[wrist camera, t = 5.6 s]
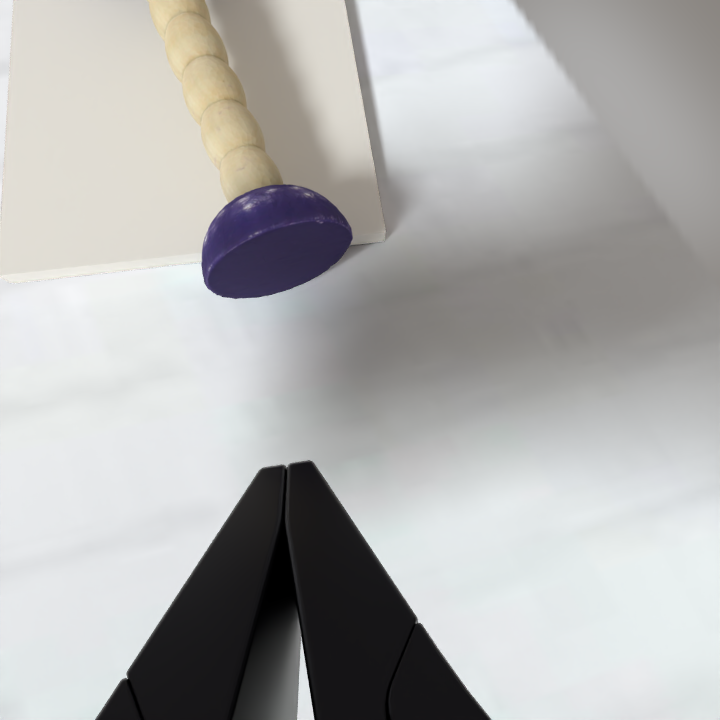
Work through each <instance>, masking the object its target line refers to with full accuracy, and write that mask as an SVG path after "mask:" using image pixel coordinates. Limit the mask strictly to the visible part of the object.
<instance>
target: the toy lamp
mask: <svg viewBox="0 0 720 720" xmlns="http://www.w3.org/2000/svg"><path fill="white" fill-rule="evenodd" d="M147 1H148V2H149V9H150V13H151V17H152V20H153V23H154V25H155V27H156V29H157V31H158V33H159V35H160V36H161V38H162V39H163V41H164V42H165V51H166V55H167V59H168V62H169V64H170V66H171V69H172V71H173V72H174V74H175V75H176V77H177V79H178V80H179V81H180V82H181V83H182V89H183V96H184V100H185V103H186V106H187V108H188V110H189V112H190V114H191V115H192V117H193V118H194V120H195V121H196V122H197V123H198V124H199V125H200V126H201V136H202V141H203V145H204V148H205V150H206V152H207V154H208V156H209V158H210V159H211V161H212V162H213V164H214V165H215V166H216V167H217V168H218V170H220V182H221V187H222V190H223V193H224V195H225V197H226V199H227V202H228V204H227V205H225V206H224V208H223V209H222V210H221V211H220V212H219V213H218V214H217V216H216V217H215V218H214V219H213V221H212V222H211V224H210V226H209V228H208V231H207V233H206V236H205V238H204V242H203V248H202V272H203V277H204V282H205V284H206V286H207V288H208V289H209V290H211V291H212V292H213V293H215V294H216V295H220V296H222V297H227V298H234V299H237V298H255V297H262V296H267V295H272V294H275V293H278V292H282V291H285V290H288V289H291V288H293V287H295V286H298V285H301V284H303V283H305V282H307V281H309V280H311V279H313V278H315V277H317V276H318V275H320V274H322V273H323V272H325V271H326V270H328V269H329V268H330V266H332V265H333V264H335V263H336V262H338V260H339V259H340V258H341V257H342V256H343V254H344V253H345V252H346V250H347V249H348V247H349V246H350V244H351V241H352V239H353V236H352V229H351V227H350V225H349V223H348V221H347V220H346V218H345V217H344V215H343V214H342V213H341V212H340V211H339V210H338V209H337V207H336V206H335V205H334V204H332V203H331V202H330V201H329V200H328V199H327V198H325V197H324V196H322V195H320V194H319V193H317V192H315V191H313V190H310V189H308V188H305V187H301V186H296V185H290V184H289V185H286V184H283V180H282V177H281V174H280V172H279V170H278V168H277V166H276V164H275V163H274V161H273V160H272V159H271V158H270V157H269V156H268V155H267V154H266V153H265V152H266V150H265V141H264V136H263V133H262V130H261V128H260V126H259V124H258V122H257V121H256V119H255V118H254V116H253V115H252V114H251V113H250V111H249V110H248V109H247V102H246V96H245V92H244V89H243V86H242V84H241V82H240V80H239V78H238V77H237V75H236V74H235V72H234V71H233V70H232V69H231V68H230V67H229V61H228V55H227V51H226V48H225V46H224V43H223V41H222V39H221V37H220V35H219V34H218V32H217V31H216V29H215V28H214V27H213V26H212V25H211V19H210V14H209V10H208V7H207V5H206V2H205V0H147Z"/></svg>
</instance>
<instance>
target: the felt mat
mask: <svg viewBox="0 0 720 720" xmlns="http://www.w3.org/2000/svg"><path fill="white" fill-rule="evenodd" d="M205 2H206V5H207V7H208V10H209V14H210V19H211V25H212V26H213V27H214V28H215V29H216V31H217V32H218V34H219V35H220V37H221V39H222V41H223V43H224V46H225V48H226V51H227V55H228V61H229V67H230V68H231V69H232V70H233V71H234V72H235V74H236V75H237V77H238V78H239V80H240V82H241V84H242V86H243V89H244V92H245V96H246V102H247V109H248V110H249V111H250V113H251V114H252V115H253V116H254V118H255V119H256V121H257V122H258V124H259V126H260V128H261V130H262V133H263V136H264V141H265V150H266V152H265V153H266V154H267V155H268V156H269V157H270V158H271V159H272V160H273V161H274V163H275V164H276V166H277V168H278V170H279V172H280V174H281V177H282V180H283V184H286V185H289V184H290V185H296V186H301V187H305V188H308V189H310V190H313V191H315V192H317V193H319V194H320V195H322V196H324V197H325V198H327V199H328V200H329V201H330V202H331V203H332V204H334V205H335V206H336V207H337V209H338V210H339V211H340V212H341V213H342V214H343V215H344V217H345V218H346V220H347V221H348V223H349V225H350V227H351V229H352V236H353V239H352V241H351V244H350V245H357V244H366V243H375V242H384V241H385V235H386V229H385V223H384V218H383V212H382V206H381V201H380V195H379V190H378V184H377V178H376V173H375V167H374V162H373V156H372V151H371V145H370V139H369V134H368V128H367V123H366V117H365V111H364V106H363V100H362V95H361V89H360V84H359V78H358V72H357V67H356V61H355V56H354V50H353V44H352V39H351V33H350V28H349V22H348V17H347V11H346V5H345V0H205ZM227 204H228V202H227V199H226V197H225V195H224V193H223V190H222V187H221V182H220V170H218V168H217V167H216V166H215V165H214V164H213V162H212V161H211V159H210V158H209V156H208V154H207V152H206V150H205V148H204V145H203V141H202V136H201V126H200V125H199V124H198V123H197V122H196V121H195V120H194V118H193V117H192V115H191V114H190V112H189V110H188V108H187V106H186V103H185V100H184V96H183V89H182V83H181V82H180V81H179V80H178V79H177V77H176V75H175V74H174V72H173V71H172V69H171V66H170V64H169V62H168V59H167V55H166V51H165V42H164V41H163V39H162V38H161V36H160V35H159V33H158V31H157V29H156V27H155V25H154V23H153V20H152V17H151V13H150V9H149V2H148V1H147V0H13V16H12V33H11V50H10V67H9V84H8V101H7V118H6V135H5V152H4V169H3V185H2V202H1V219H0V278H2V279H3V280H5V281H7V282H8V283H10V284H15V283H24V282H33V281H42V280H51V279H59V278H68V277H77V276H86V275H94V274H103V273H112V272H121V271H129V270H138V269H147V268H156V267H165V266H173V265H182V264H191V263H200V262H202V248H203V242H204V238H205V236H206V233H207V231H208V228H209V226H210V224H211V222H212V221H213V219H214V218H215V217H216V216H217V214H218V213H219V212H220V211H221V210H222V209H223V208H224V206H225V205H227Z"/></svg>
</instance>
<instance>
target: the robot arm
mask: <svg viewBox="0 0 720 720" xmlns="http://www.w3.org/2000/svg"><path fill="white" fill-rule="evenodd" d="M301 637H302V643H303V649H304V656H305V662H306V668H307V675H308V681H309V687H310V694H311V700H312V706H313V713H314V719H315V720H491V718H490V717H489V716H488V715H487V713H486V712H485V711H484V710H483V708H482V707H481V706H480V705H479V703H478V702H477V701H476V700H475V698H474V697H473V696H472V695H471V693H470V692H469V691H468V690H467V688H466V687H465V685H464V684H463V683H462V681H461V680H460V678H459V677H458V676H457V674H456V673H455V671H454V670H453V669H452V667H451V666H450V664H449V663H448V662H447V660H446V659H445V657H444V656H443V655H442V653H441V652H440V650H439V649H438V648H437V646H436V645H435V643H434V642H433V640H432V639H431V637H430V636H429V634H428V633H427V631H426V630H425V628H424V627H423V625H422V624H421V623H418V619H417V617H416V615H415V614H414V612H413V611H412V609H411V608H410V606H409V605H408V603H407V602H406V600H405V599H404V597H403V596H402V594H401V593H400V591H399V590H398V588H397V587H396V585H395V584H394V582H393V581H392V579H391V578H390V576H389V575H388V573H387V572H386V570H385V569H384V567H383V566H382V564H381V563H380V561H379V560H378V558H377V557H376V555H375V554H374V552H373V551H372V549H371V548H370V546H369V545H368V543H367V542H366V540H365V539H364V537H363V536H362V534H361V533H360V531H359V530H358V528H357V527H356V525H355V524H354V522H353V521H352V519H351V518H350V516H349V515H348V513H347V512H346V510H345V509H344V507H343V506H342V504H341V503H340V501H339V500H338V498H337V497H336V495H335V494H334V492H333V491H332V489H331V488H330V486H329V485H328V483H327V482H326V480H325V479H324V477H323V476H322V474H321V473H320V471H319V470H318V468H317V467H316V465H315V464H314V463H313V462H312V461H310V460H308V461H302V462H295V463H290V464H289V465H288V467H286V466H285V465H276V466H270V467H264V468H262V469H260V470H259V471H258V473H257V474H256V476H255V477H254V479H253V481H252V482H251V484H250V485H249V487H248V488H247V490H246V491H245V493H244V494H243V496H242V497H241V499H240V500H239V502H238V503H237V505H236V506H235V508H234V509H233V511H232V513H231V514H230V516H229V517H228V519H227V520H226V522H225V523H224V525H223V526H222V528H221V529H220V531H219V532H218V534H217V535H216V537H215V538H214V540H213V541H212V543H211V545H210V546H209V548H208V549H207V551H206V552H205V554H204V555H203V557H202V558H201V560H200V561H199V563H198V564H197V566H196V567H195V569H194V570H193V572H192V573H191V575H190V577H189V578H188V580H187V581H186V583H185V584H184V586H183V587H182V589H181V590H180V592H179V593H178V595H177V596H176V598H175V599H174V601H173V602H172V604H171V605H170V607H169V609H168V610H167V612H166V613H165V615H164V616H163V618H162V619H161V621H160V622H159V624H158V625H157V627H156V628H155V630H154V631H153V633H152V634H151V636H150V637H149V639H148V641H147V642H146V644H145V645H144V647H143V648H142V650H141V651H140V653H139V654H138V656H137V657H136V659H135V660H134V662H133V663H132V665H131V666H130V668H129V669H128V671H127V678H128V679H127V678H124V679H122V680H121V681H120V683H119V684H118V686H117V687H116V689H115V690H114V692H113V693H112V695H111V696H110V698H109V699H108V701H107V702H106V704H105V706H104V707H103V709H102V710H101V712H100V713H99V715H98V716H97V718H96V719H95V720H297V707H298V686H299V665H300V644H301Z"/></svg>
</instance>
